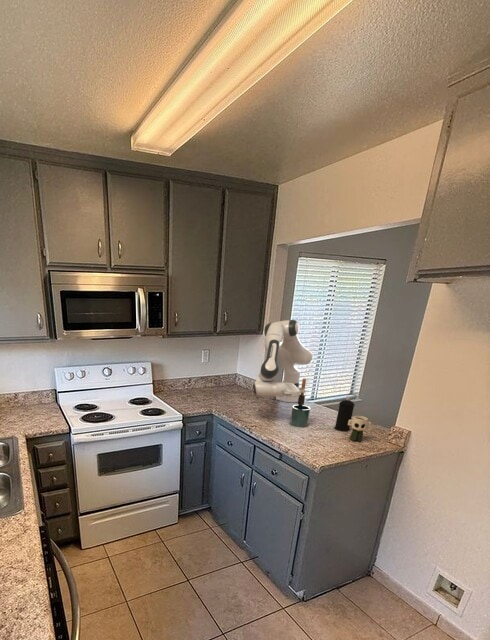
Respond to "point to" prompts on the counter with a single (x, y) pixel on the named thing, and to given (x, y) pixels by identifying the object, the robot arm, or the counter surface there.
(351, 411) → the aerosol can
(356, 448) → the counter surface
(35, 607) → the counter surface
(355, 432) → the cartoon character figurine
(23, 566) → the counter surface
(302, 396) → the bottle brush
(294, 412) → the green cup
